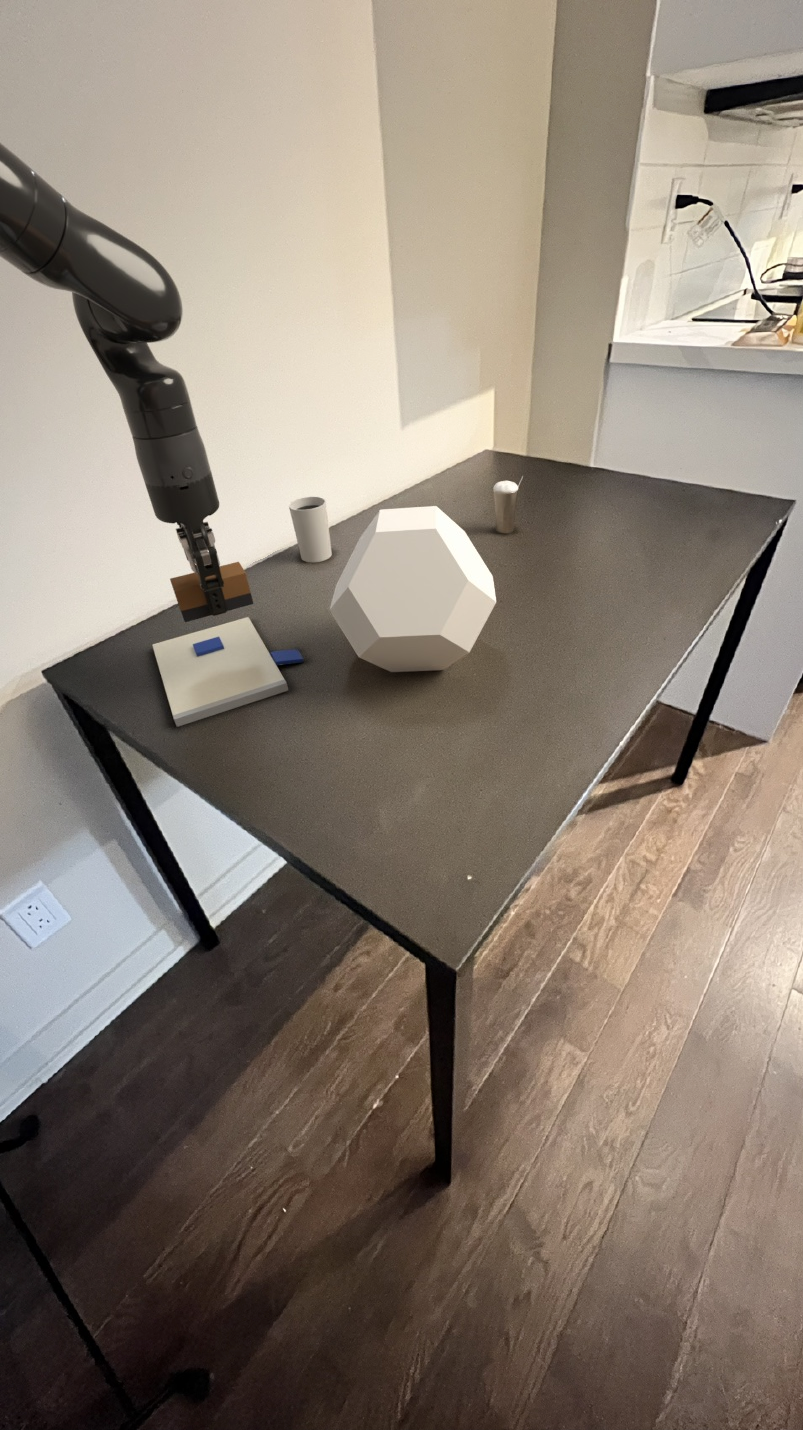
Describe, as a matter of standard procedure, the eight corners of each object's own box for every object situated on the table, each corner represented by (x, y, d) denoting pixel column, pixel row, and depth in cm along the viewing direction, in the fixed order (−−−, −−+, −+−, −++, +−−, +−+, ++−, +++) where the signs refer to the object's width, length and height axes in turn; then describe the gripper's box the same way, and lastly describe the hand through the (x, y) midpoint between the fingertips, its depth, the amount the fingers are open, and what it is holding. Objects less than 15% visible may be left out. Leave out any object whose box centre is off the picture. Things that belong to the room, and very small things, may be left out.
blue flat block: (197, 656, 90) (196, 653, 90) (193, 647, 93) (192, 644, 92) (224, 648, 91) (223, 645, 91) (220, 639, 94) (219, 636, 93)
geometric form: (420, 606, 99) (411, 479, 86) (519, 652, 87) (525, 511, 74) (319, 660, 89) (292, 525, 77) (414, 720, 77) (401, 571, 64)
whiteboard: (176, 727, 80) (173, 719, 79) (154, 651, 95) (151, 643, 94) (288, 690, 84) (286, 682, 83) (250, 623, 99) (248, 616, 98)
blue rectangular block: (275, 665, 87) (275, 661, 87) (270, 655, 90) (270, 651, 89) (303, 662, 89) (303, 658, 89) (297, 652, 91) (297, 648, 91)
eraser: (253, 604, 82) (245, 572, 79) (184, 622, 79) (174, 590, 77) (246, 592, 85) (238, 561, 82) (180, 609, 82) (169, 578, 79)
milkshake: (522, 533, 117) (524, 480, 111) (494, 535, 118) (494, 482, 112) (519, 524, 121) (521, 471, 115) (491, 526, 121) (492, 474, 115)
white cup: (337, 547, 119) (329, 495, 113) (330, 562, 114) (321, 509, 108) (303, 548, 120) (293, 497, 114) (295, 564, 115) (284, 511, 109)
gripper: (137, 463, 75) (178, 591, 86) (151, 496, 65) (196, 638, 76) (198, 451, 78) (232, 578, 88) (222, 482, 67) (256, 621, 78)
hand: (215, 605), depth 82 cm, fingers closed on eraser, 4 cm apart
